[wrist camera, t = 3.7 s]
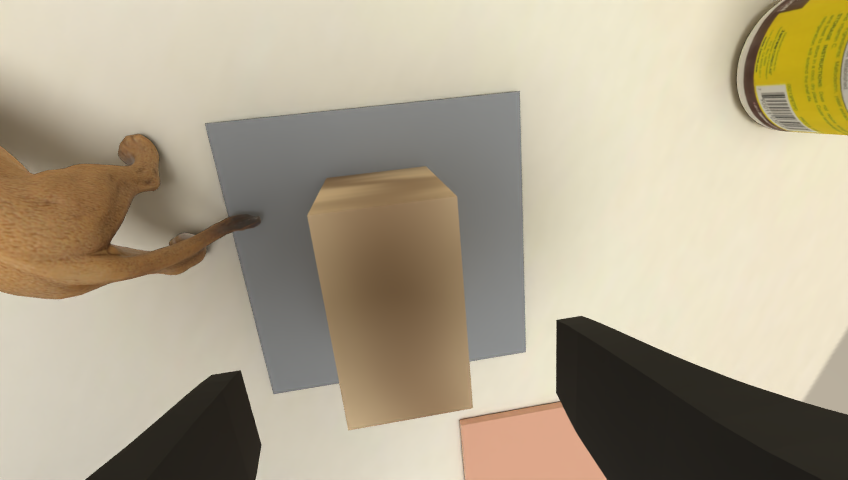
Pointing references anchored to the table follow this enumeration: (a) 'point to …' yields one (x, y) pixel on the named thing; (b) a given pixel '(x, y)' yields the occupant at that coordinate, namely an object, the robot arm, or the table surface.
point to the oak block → (393, 294)
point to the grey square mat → (358, 154)
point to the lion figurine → (86, 226)
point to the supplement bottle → (798, 68)
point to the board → (525, 446)
